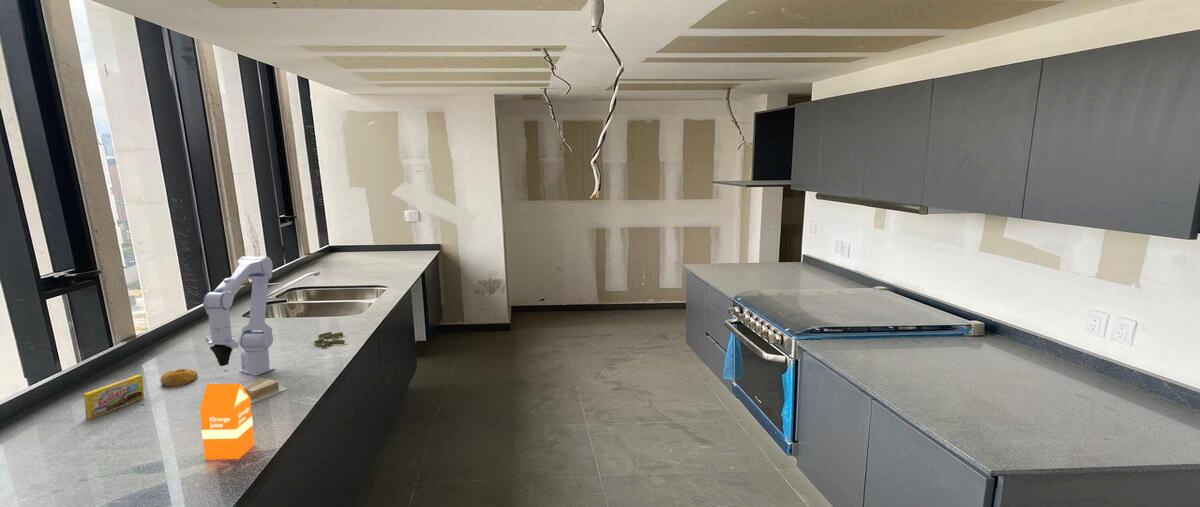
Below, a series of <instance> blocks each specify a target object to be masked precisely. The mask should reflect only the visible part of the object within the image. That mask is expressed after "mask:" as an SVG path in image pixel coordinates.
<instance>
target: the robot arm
mask: <svg viewBox="0 0 1200 507" xmlns="http://www.w3.org/2000/svg"><path fill="white" fill-rule="evenodd" d="M273 269H274V268H273V261H272V259H271V258H270V257H269V256H241V257H239V258H238V260H237V262H236V269H235V271H234V272H233V273H232V275H231V276H230V277H226V278H224V279H223V280H222V282H221V283H219V284H218V286H217V287H216V288H215V289H214V290H213V291H210V292H208V293H207V294H205V295H204V298H203V302H202V305H203V307H204V309H205V311H206V315H208V320H209V330H210V331H209V332H210V335H208V336H205V337H204V338H205V342H206V343H207V345H211V346H209V349H210V350H211V351H212V353H213V354H214V356H215V358H216V360H217V362H218V365H219V366H220V367H225V366H228V365H229V362H230V357H231V355H232V352H233V349H237V348H239V346H240V347H241V348H242V351H241V352H240V364H241V369H239V372H240V373H243V374H248V375H251V376H253V377H255V376H256V377H257V376H259V375H262V374H264V373H267V372H271V371H274V370H275V369H276V367H274V366H270V354H269V348H270V347H271V346H272V345H273V341H274V334H273V328H272V327H271V326H270V325H268V324H267V323H266V312H267V300H268V290H269V289H268V286H269V280H270V279H272V277H273ZM245 279H249V280H250V281H251V282H252V285H251V298H250V308H249V319H248V320H249V321H248V323H247V324H246V325H245V326H243V327H242V328H241V332H240V334H239V338H238V341H237V340H236V339H235V338H234V337H233V335H232V326H231V324H232V323H231V317H230V316H231V314H230V308H231V307H232V305H233V300H234V299H235V296H236V295H237V293H238V292H239V290H241V288H242V284H241V283H242V282H244V281H245Z"/></svg>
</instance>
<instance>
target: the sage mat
mask: <svg viewBox="0 0 1200 507" xmlns="http://www.w3.org/2000/svg"><path fill="white" fill-rule="evenodd" d="M278 386H279V385H278ZM287 390H288V388H286V387H283V386H279V390H277V391H275V392H272V393H270V394H267V395H264V396H262V397H259V398H257V399H254V400H252V399H250V403H251V405H252V404H254V403H257V402H259V401H263V400H265V399H267V398H269V397H272V396H275V395H277V394H279V393H282V392H285V391H287ZM274 394H275V395H274Z"/></svg>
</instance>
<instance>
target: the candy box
mask: <svg viewBox="0 0 1200 507" xmlns="http://www.w3.org/2000/svg"><path fill="white" fill-rule="evenodd" d="M143 385H144V384H143V375H142V374H135V375H133V376H131V377H127V378H124V379H121V380H119V381H115V382H113V383H110V384H107V385H103V386H102V387H100V388H96V389H93V390H91V391H88V392H84V393H83V400H84V412H85V419H86V418H92V419H93V417H94V418H96V416H97V417H99V416H102V415H104V414H106V413H105V412H107V411H109V412H111V411H110V410H112V409H114V408H117V407H119V408H121V407H120V406H122V405H124V406H126V405H125V404H127V403H129V404H131V403H130V402H132V401H134V402H136V401H135V400H137V401H138V399H139V400H141V399H140V398H142V399H144V398H145V395H144V392H145V391H144V386H143ZM143 397H144V398H143ZM132 403H133V402H132ZM127 405H128V404H127ZM122 407H123V406H122ZM117 409H118V408H117ZM114 410H115V409H114ZM112 411H113V410H112ZM103 413H104V414H103ZM107 413H108V412H107ZM101 414H102V415H101ZM98 415H99V416H98Z"/></svg>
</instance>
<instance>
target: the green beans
mask: <svg viewBox="0 0 1200 507" xmlns="http://www.w3.org/2000/svg"><path fill="white" fill-rule="evenodd" d="M339 336H342V337H344V332H343V331H341V332H340V331H339V332H337V333H333V332H332V331H329V332H324V333H320V334H319V335H317V338H318V339H317V340H314V341H313V345H314V347H315V346H316V347H315V348H318V347H322V348H323V349H325V348H328V347H329V346H330V344H344V343H345V344H346V339H338V338H337V337H339ZM321 337H322V338H321ZM331 337H332V338H331ZM328 338H330V339H331V340H329V339H328ZM334 338H336V339H334ZM339 338H340V337H339ZM324 339H326V340H324ZM322 342H324V343H322ZM318 343H319V344H318ZM345 344H344V345H345ZM327 346H328V347H327ZM324 347H325V348H324ZM322 348H321V349H322Z"/></svg>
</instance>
